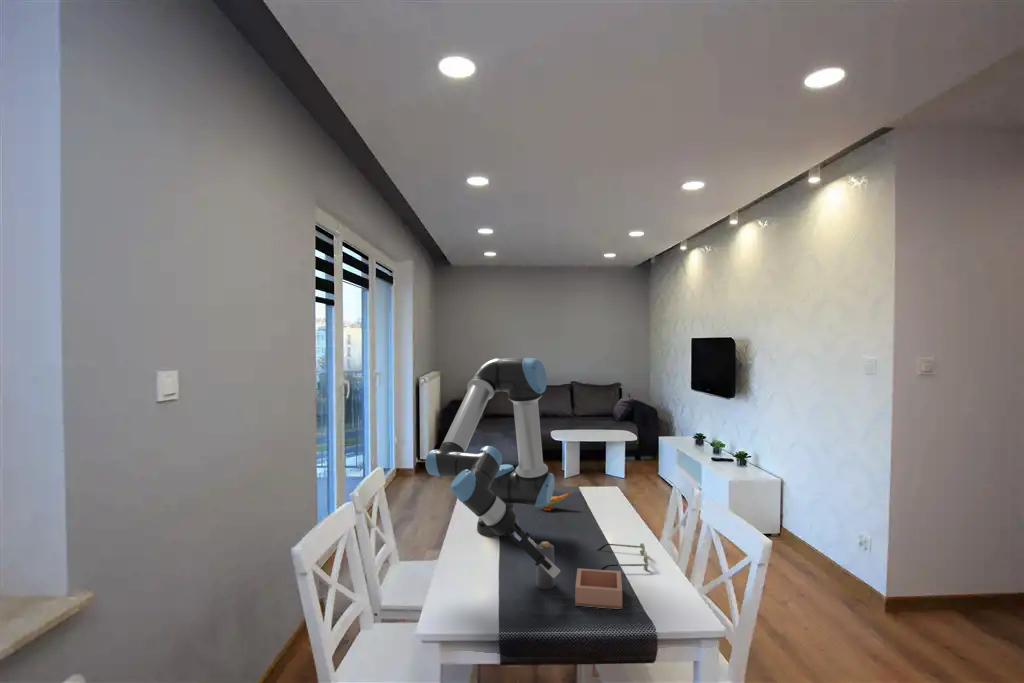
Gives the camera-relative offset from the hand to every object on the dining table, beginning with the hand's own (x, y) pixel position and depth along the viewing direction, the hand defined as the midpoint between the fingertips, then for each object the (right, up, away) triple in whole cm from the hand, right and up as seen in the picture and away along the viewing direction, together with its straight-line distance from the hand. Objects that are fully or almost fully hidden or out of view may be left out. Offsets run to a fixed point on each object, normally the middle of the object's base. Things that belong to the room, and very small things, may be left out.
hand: (548, 564), depth 153 cm
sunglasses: (+24, -7, +17) cm, 30 cm away
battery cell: (-1, -6, 0) cm, 6 cm away
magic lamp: (+6, -6, +70) cm, 70 cm away
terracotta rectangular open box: (+13, -6, -7) cm, 16 cm away
